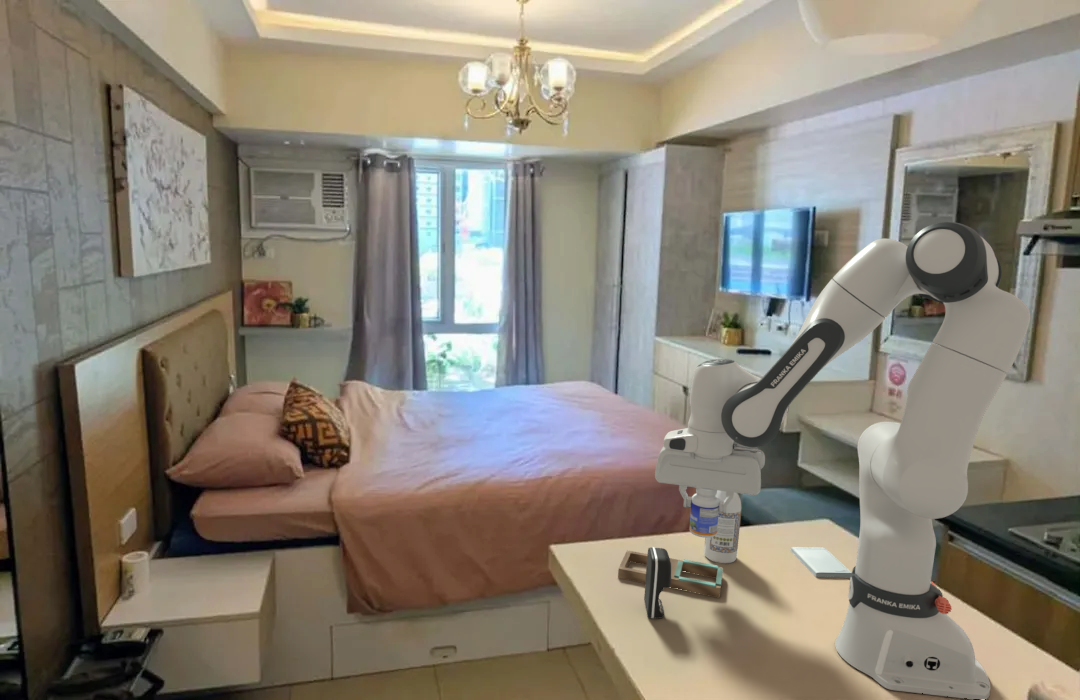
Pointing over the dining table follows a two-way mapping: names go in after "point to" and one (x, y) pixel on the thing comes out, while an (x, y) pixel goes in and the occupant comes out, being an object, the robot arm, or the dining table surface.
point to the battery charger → (656, 580)
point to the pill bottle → (704, 513)
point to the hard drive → (821, 562)
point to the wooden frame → (676, 574)
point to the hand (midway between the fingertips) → (704, 508)
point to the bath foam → (725, 532)
